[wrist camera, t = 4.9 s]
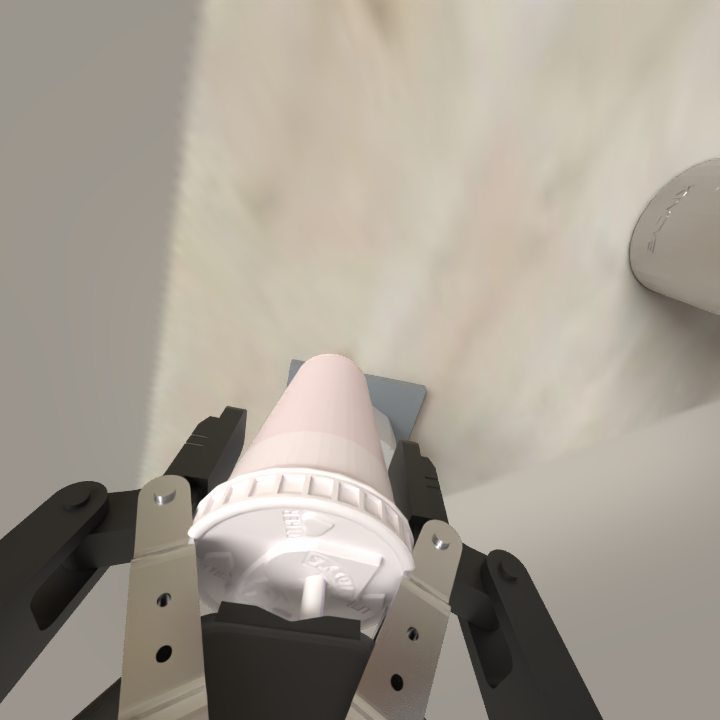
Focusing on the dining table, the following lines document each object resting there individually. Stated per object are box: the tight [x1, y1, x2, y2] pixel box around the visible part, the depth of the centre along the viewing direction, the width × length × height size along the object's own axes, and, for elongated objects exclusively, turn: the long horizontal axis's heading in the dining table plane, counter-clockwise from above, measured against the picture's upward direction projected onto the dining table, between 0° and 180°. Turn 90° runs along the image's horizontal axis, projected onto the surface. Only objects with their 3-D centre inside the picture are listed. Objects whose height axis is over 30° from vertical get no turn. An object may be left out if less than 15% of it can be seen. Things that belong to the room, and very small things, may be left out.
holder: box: [287, 359, 426, 472], centre depth 31 cm, size 12×14×5 cm
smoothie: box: [188, 354, 415, 630], centre depth 11 cm, size 6×6×14 cm
